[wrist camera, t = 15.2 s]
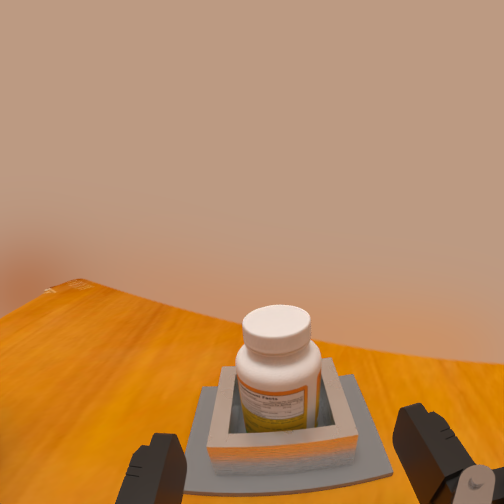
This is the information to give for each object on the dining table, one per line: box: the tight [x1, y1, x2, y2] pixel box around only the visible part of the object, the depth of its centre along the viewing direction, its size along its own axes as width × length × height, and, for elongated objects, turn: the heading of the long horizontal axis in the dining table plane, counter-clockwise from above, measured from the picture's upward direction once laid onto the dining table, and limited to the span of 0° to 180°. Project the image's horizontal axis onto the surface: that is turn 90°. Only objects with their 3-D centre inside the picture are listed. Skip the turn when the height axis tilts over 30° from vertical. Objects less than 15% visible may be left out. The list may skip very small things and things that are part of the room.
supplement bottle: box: [236, 305, 321, 433], centre depth 19 cm, size 5×5×10 cm
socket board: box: [183, 358, 393, 497], centre depth 20 cm, size 14×12×4 cm
